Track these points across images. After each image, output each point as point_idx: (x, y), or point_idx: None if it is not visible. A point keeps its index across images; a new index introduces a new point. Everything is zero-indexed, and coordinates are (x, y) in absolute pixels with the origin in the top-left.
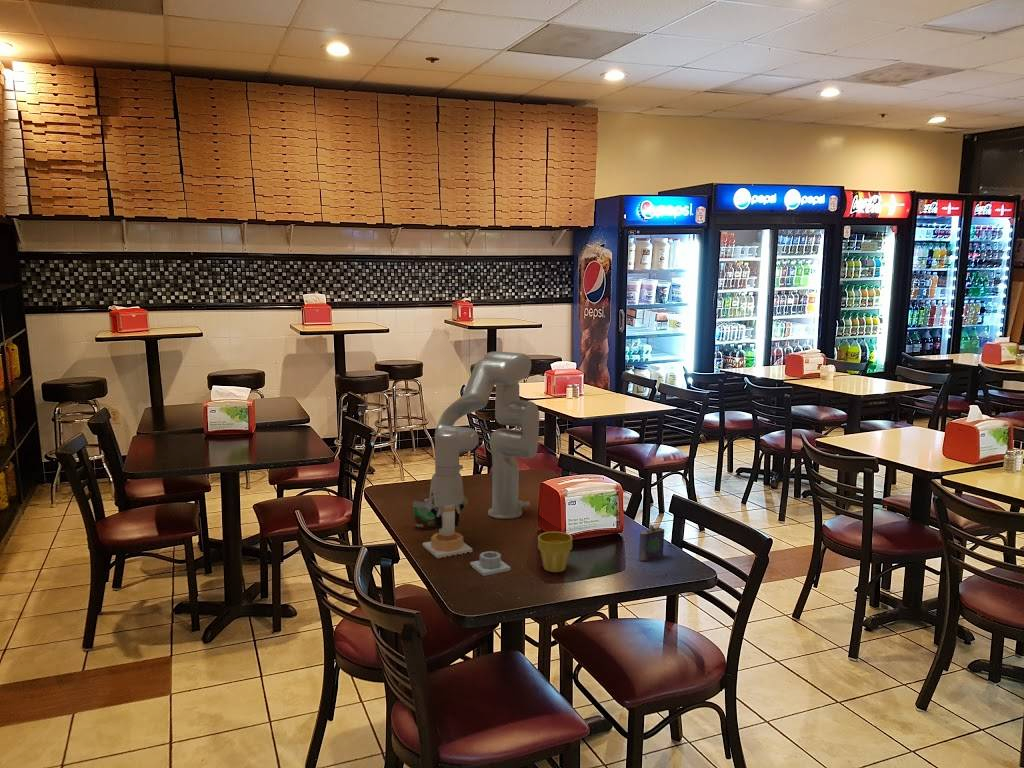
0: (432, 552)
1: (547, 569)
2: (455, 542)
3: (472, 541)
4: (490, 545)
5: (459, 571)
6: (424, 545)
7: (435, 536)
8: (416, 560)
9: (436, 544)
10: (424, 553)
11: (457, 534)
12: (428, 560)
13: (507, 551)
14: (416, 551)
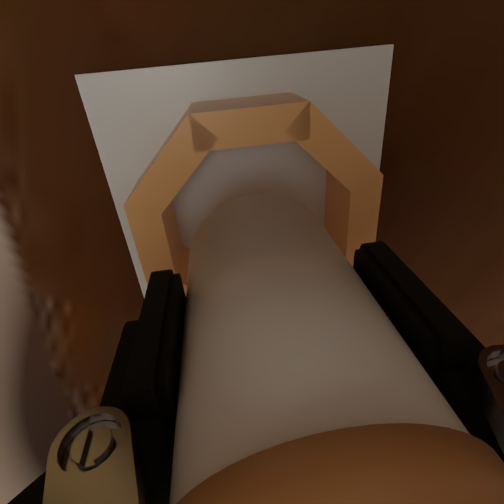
0: (134, 259)
1: None
2: None
3: (457, 127)
4: (493, 229)
5: None
6: (91, 121)
7: (166, 200)
8: (30, 302)
9: None
10: (87, 222)
11: (356, 214)
12: (101, 318)
13: (496, 318)
14: (29, 171)
